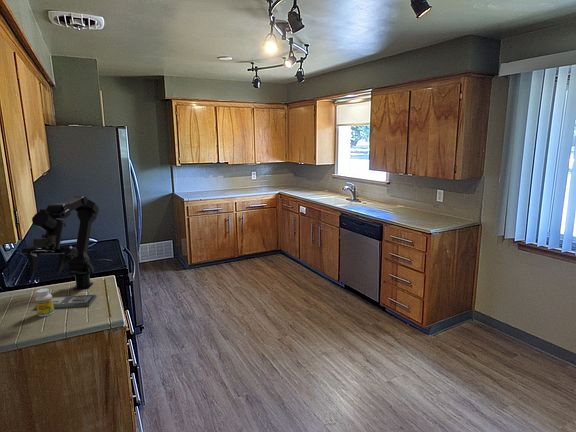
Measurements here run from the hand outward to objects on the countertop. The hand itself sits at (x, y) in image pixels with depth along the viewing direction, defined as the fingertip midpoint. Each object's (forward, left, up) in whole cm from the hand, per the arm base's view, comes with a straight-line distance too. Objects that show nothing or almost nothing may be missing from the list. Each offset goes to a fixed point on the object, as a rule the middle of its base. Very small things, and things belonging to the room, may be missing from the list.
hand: (45, 273), depth 143 cm
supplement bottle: (0, -1, -16) cm, 16 cm away
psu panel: (-9, +3, -16) cm, 18 cm away
